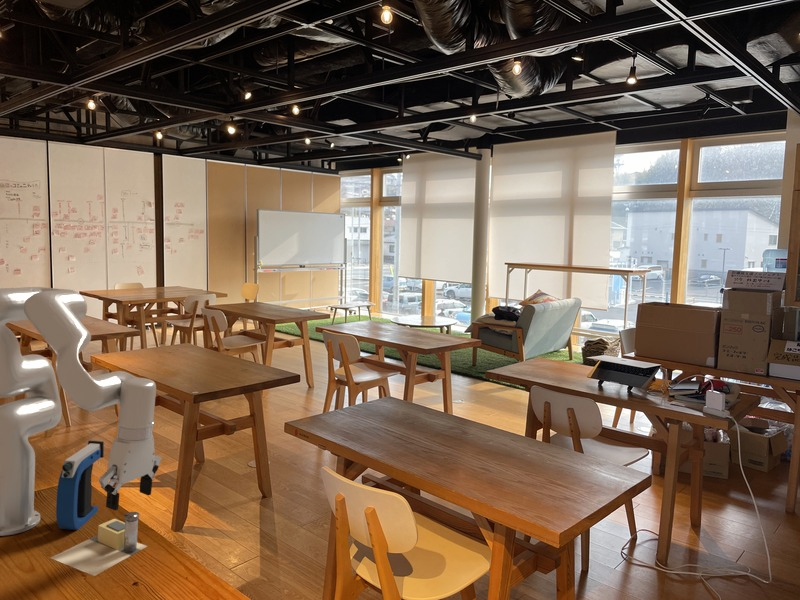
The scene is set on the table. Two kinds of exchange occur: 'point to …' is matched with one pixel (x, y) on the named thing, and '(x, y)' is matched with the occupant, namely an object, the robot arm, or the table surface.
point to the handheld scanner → (77, 487)
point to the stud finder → (112, 533)
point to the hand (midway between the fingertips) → (129, 500)
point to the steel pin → (131, 532)
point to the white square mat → (93, 556)
